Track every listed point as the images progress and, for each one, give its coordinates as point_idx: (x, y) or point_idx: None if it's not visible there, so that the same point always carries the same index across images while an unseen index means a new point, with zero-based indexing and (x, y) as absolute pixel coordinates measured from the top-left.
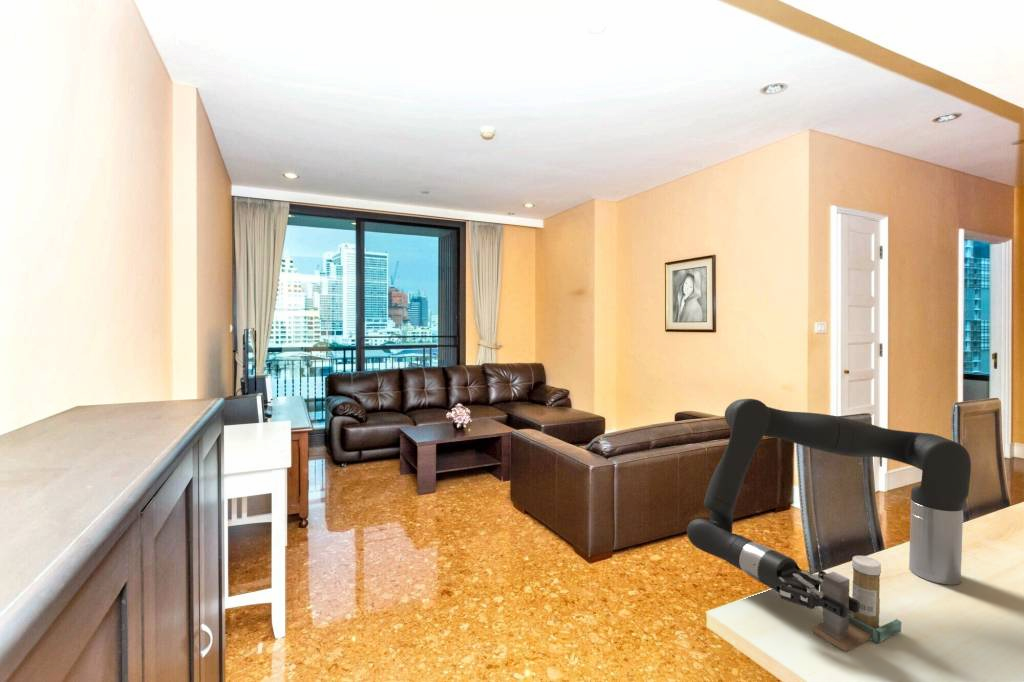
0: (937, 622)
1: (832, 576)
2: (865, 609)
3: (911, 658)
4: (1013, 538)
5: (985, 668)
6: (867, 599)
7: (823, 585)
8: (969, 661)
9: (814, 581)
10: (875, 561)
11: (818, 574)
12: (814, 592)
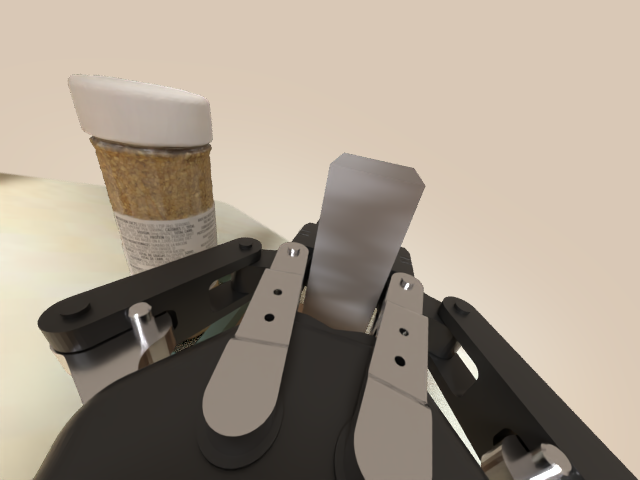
0: (103, 229)
1: (388, 171)
2: None
3: None
4: None
5: (233, 213)
6: (216, 232)
7: (402, 241)
8: (227, 219)
9: (295, 322)
10: (149, 83)
11: (83, 346)
12: (420, 303)
